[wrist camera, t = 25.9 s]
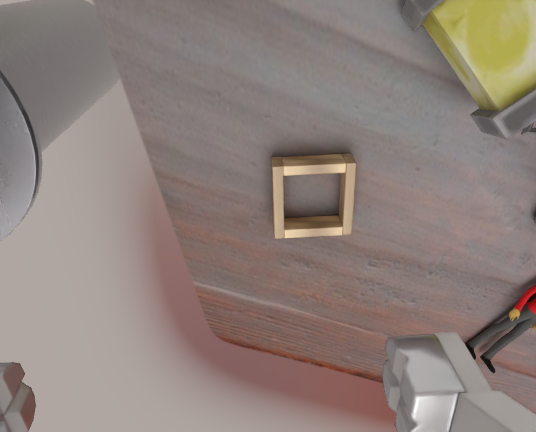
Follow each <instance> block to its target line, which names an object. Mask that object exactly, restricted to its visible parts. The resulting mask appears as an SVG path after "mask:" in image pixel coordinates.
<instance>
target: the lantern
mask: <svg viewBox="0 0 536 432" xmlns="http://www.w3.org/2000/svg"><path fill="white" fill-rule="evenodd" d="M401 15H402V16H403V18H404V19H405V21H406V22H407V24H408V25H409V27H410V28H411V30H412V31H415V30H416V29H417V28H419V27H420V26H421V25H422V24H423V26H424V27H425V29H426V30H427V32H428V33H429V35H430V36H431V38H432V39H433V40H434V42H435V43H436V45H437V46H438V48H439V49H440V51H441V52H442V54H443V55H444V57H445V58H446V60H447V61H448V62H449V64H450V65H451V67H452V68H453V70H454V71H455V73H456V74H457V76H458V77H459V79H460V80H461V81H462V83H463V84H464V86H465V87H466V89H467V90H468V92H469V93H470V95H471V96H472V98H473V99H474V100H475V102H476V103H477V105H478V106H479V109H478V110H476V111H475V112H473V113H472V114H470V115H471V117H472V118H473V120H474V121H475V123H476V124H477V126H478V127H479V129H480V130H481V131H482V132H484V133H487V134H491V135H494V136H497V137H501V138H504V139H508V138H510V137H511V136H513V135H514V134H516V133H517V132H519V131H521V130H522V129H523V130H522V133H521V135H529V136H536V128H532V126H533V122H535V121H536V0H406V1H405V3H404V6H403V9H402V12H401ZM534 220H535V222H536V215H535V218H534Z"/></svg>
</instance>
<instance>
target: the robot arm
mask: <svg viewBox="0 0 536 432" xmlns="http://www.w3.org/2000/svg"><path fill="white" fill-rule="evenodd" d="M385 351H386V354H387V357H388V360H387V361H386V362H385V363H384V364H383V372H382V378H383V388H384V392H385V397H386V400H387V403H388V406H389V407H390V408H391V409H392V410H393V411H394V412H395V413H396V420H395V427H396V430H397V432H536V414H534V413H533V412H531V411H530V410H528V409H527V408H525V407H524V406H522V405H521V404H519V403H518V402H516V401H515V400H513V399H512V398H510V397H509V396H507V395H506V394H504V393H503V392H501V391H493V390H492V388H491V387H490V385H489V383H488V382H487V380H486V378H485V377H484V375H483V373H482V372H481V370H480V369H479V367H478V365H477V364H476V362H475V360H474V359H473V357H472V355H471V354H470V352H469V350H468V349H467V347H466V345H465V344H464V342H463V340H462V339H461V337H460V335H459V334H457V333H456V332H446V333H433V334H420V335H407V336H394V337H388V339H387V341H386V346H385ZM24 375H25V373H24V371H23V369H22V367H21V365H20V363H14V362H12V363H0V432H28V431H29V429H30V427H31V424H32V422H33V419H34V413H35V407H36V404H35V396H34V393H33V391H32V389H31V387H29V386H27V385H26V384H24V383H23V382H21V381H22V379H23V377H24Z"/></svg>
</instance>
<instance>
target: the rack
mask: <svg viewBox="0 0 536 432" xmlns="http://www.w3.org/2000/svg"><path fill="white" fill-rule="evenodd" d="M356 165H357V163H356V161H355V159H354V158H353V156H352V154H342V155H341V154H331V155H310V156H289V157H271V169H272V201H273V228H274V237H275V239H278V238H296V237H315V236H333V235H350V234H352V223H353V209H354V194H355V179H356ZM327 173H341V174H340V194H339V214H338V215H335V216H316V217H297V218H284V190H283V175H284V176H287V175H307V174H327Z"/></svg>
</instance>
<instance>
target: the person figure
mask: <svg viewBox="0 0 536 432" xmlns="http://www.w3.org/2000/svg"><path fill="white" fill-rule="evenodd" d="M534 293H536V285H534V286H533V287H531V288H530V289H528V290H527V291H526V292H525V293H524V294H523V296H522V297H521V298H520V300H519V301H518V303H517V304H516V306H515V307H514V309H513V310H512V311H510V313H509V316H508V317H507V318H505V319H504V320H502V321H501V322H499V323H497V324H494V325H492V326H491V327H489V328H487V329H486V330H485V331H483V332H482V333H480V334H479V335H478V336H476V337H475V338H473V339H472V340H471V341H469V342H468V343H467V344H465V345H466V347H467V349H468V350H469V352H470V354H471V355H472V357H473V359H474V360H475V359H476V356H475V353H474V348H475V347H476V346H477V345H478V344H480V343H481V342H483V341H484V340H486V339H487V338H489V337H491V336H492V335H494V334H496V333H498V332H500V331H502V330H504V329H506V328H509V327H511V326H513V325H515V324H517V325H516V326H515V327H514V328H513V329H512V330H511V331H510V332H509V333H507V334H506V335H504V336H503V337H501V338H500V339H499V340H498V341H497V342H496V343H495V344H494V345H493V346H492V347H491V348H490V349H489V350H487V351H486V352H485V353H483V354H482V356H480V358H481V359H482V360H483V361H484V362H485V364H486V365H487V367H488V368H489V369H490V371H491V372H493V373H495V369H494V367H493V366H492V364H491V361H490V360H491V359H492V357H493V356H494V355H495V354H496V353H497V352H498V351H500V350H501V349H502V348H504V347H505V346H506V345H507V344H509V343H510V342H511V341H513V340H514V339H516V338H517V337H518V336H520V335H521V334H522V333H524V332H525V331H526V330H527V329H528V328H534V327H535V328H534V329H536V298H535V299H534V300H533V301H531V302H527V300H528V299H529V298H530V296H532V295H533V294H534ZM526 302H527V303H526ZM525 303H526V304H525ZM531 326H533V327H531ZM534 329H533V330H534Z"/></svg>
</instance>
